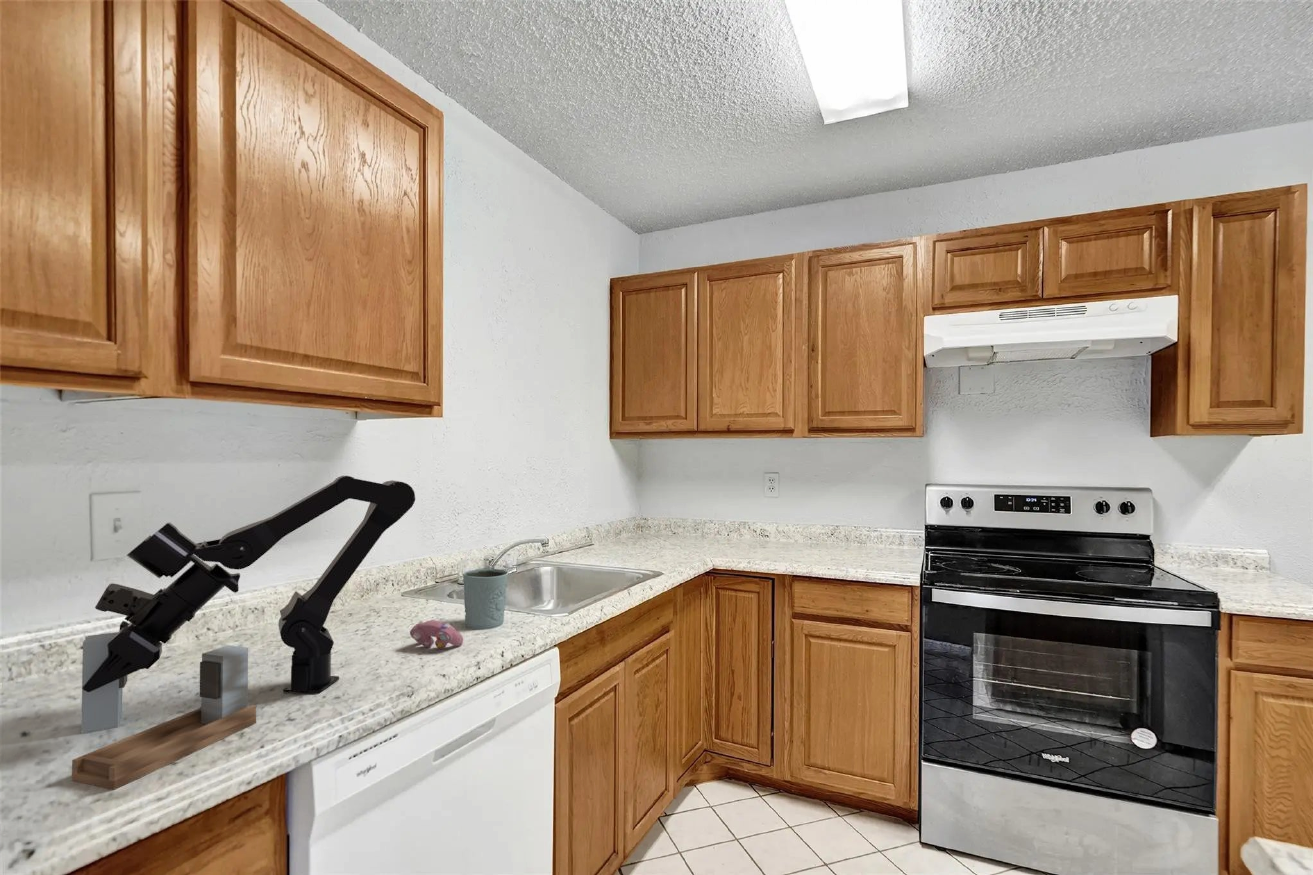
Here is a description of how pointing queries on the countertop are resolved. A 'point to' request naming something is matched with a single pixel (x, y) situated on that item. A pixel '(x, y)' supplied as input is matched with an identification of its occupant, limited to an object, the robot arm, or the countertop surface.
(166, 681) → the countertop surface
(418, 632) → the video game controller
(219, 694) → the walnut rail
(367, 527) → the robot arm
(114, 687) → the slate finger
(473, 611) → the grey green cup
